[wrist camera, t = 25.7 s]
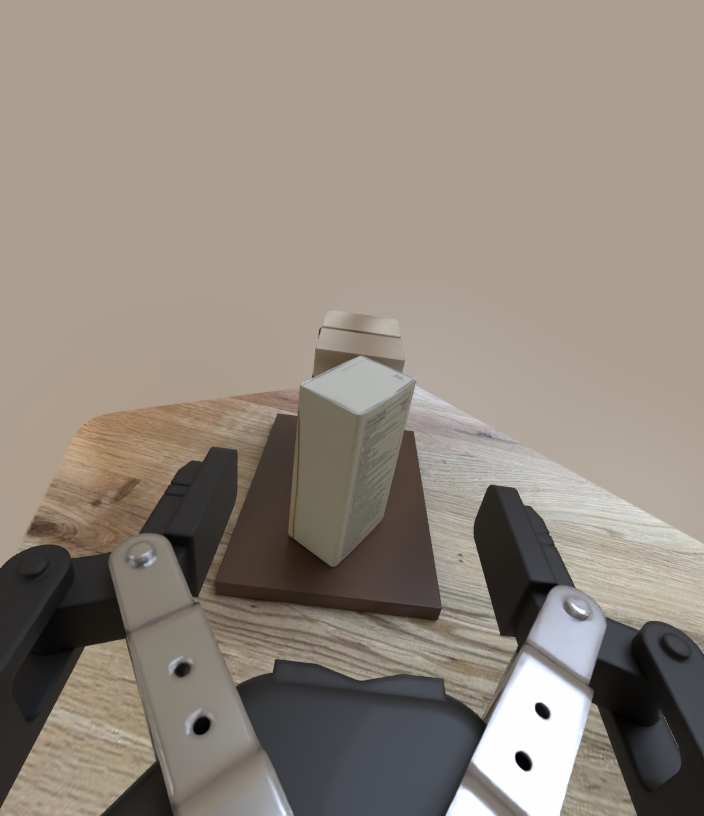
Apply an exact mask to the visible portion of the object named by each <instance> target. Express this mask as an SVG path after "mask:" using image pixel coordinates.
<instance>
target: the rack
mask: <svg viewBox="0 0 704 816" xmlns="http://www.w3.org/2000/svg"><path fill="white" fill-rule="evenodd" d="M400 338H401V336H400V330H399V324H398V320H397V319H390V318H382V317H375V316H369V315H362V314H354V313H347V312H340V311H333V310H327V312H326V315H325V318H324V322H323V325H322V328H320V329H319V337H318V342H317V345H316V349H315V359H314V370H313V375H312V378H314V377H316V376H318V375H320V374H322V373H324V372H326V371H328V370H331V369H333V368H334V367H337V366H339V365H341V364H343V363H345V362H347V361H349V360H352V359H354V358H357V357H359V356H364V357H366V358H368V359H371V360H373V361H375V362H378V363H380V364H382V365H385V366H387V367H390V368H392V369H394V370H396V371H399V372H401V373H402V372H403V367H404V362H405V359H404V354H403V348H402V341H401V339H400ZM297 419H298V416H293V415H286V414H277V416H276V419H275V422H274V424H273V427H272V430H271V432H270V435H269V438H268V441H267V443H266V446H265V449H264V451H263V454H262V457H261V459H260V462H259V465H258V467H257V470H256V473H255V476H254V478H253V481H252V484H251V486H250V489H249V492H248V494H247V497H246V500H245V503H244V505H243V508H242V511H241V513H240V516H239V519H238V521H237V524H236V527H235V529H234V532H233V535H232V538H231V540H230V543H229V546H228V548H227V551H226V554H225V556H224V559H223V562H222V565H221V567H220V570H219V573H218V575H217V578H216V581H215V588H216V594H221V595H229V596H238V597H246V598H255V599H263V600H272V601H280V602H289V603H297V604H306V605H314V606H323V607H331V608H340V609H348V610H357V611H365V612H374V613H382V614H391V615H399V616H408V617H416V618H425V619H433V620H438V617H439V615H440V612H441V609H442V606H441V600H440V594H439V588H438V581H437V575H436V569H435V563H434V556H433V550H432V544H431V537H430V531H429V525H428V519H427V512H426V506H425V500H424V494H423V487H422V481H421V475H420V468H419V462H418V456H417V450H416V443H415V437H414V432H413V431H406V430H404V433H403V438H402V442H401V446H400V450H399V454H398V458H397V463H396V467H395V471H394V475H393V479H392V483H391V487H390V491H389V496H388V500H387V504H386V508H385V512H384V516H383V519H382V520H381V522H380V523H379V524H378V525H377V526H376V527H375V528H374V529H373V530H372V531H371V532H370V533H369V534H368V535H367V536H366V537H365V538H364V539H363V540H362V541H361V542H360V543H359V544H358V545H357V546H356V547H355V548H354V549H353V550H352V551H351V552H350V553H349V554H348V555H347V556H346V557H345V558H344V559H343V560H342V561H341V562H340V563H339V564H338V565H337V566H335V567H331V566H330V565H328V564H327V563H326V562H324V561H323V560H322V559H320V558H319V557H317V556H316V555H315V554H313V553H312V552H311V551H309V550H308V549H307V548H305V547H304V546H303V545H301V544H300V543H299V542H297V541H296V540H295V539H293V538H292V537H291V536H289V534H288V527H289V515H290V503H291V491H292V479H293V467H294V455H295V442H296V431H297Z"/></svg>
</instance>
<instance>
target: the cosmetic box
mask: <svg viewBox="0 0 704 816" xmlns="http://www.w3.org/2000/svg"><path fill="white" fill-rule="evenodd" d="M415 384H416V378H413V377H410V376H408V375H406V374H404V373H401V372H399V371H396V370H394V369H392V368H390V367H387V366H385V365H382V364H380V363H378V362H375V361H373V360H371V359H368V358H366V357H364V356H359V357H357V358H354V359H352V360H349V361H347V362H345V363H343V364H341V365H339V366H337V367H334V368H333V369H331V370H328V371H326V372H324V373H322V374H320V375H318V376H316V377H314V378H312V379H310V380H308V381H306V382H304V383H302V384H301V385H300V394H299V408H298V419H297V431H296V442H295V455H294V467H293V479H292V491H291V503H290V515H289V527H288V534H289V536H291V537H292V538H293V539H295V540H296V541H297V542H299V543H300V544H301V545H303V546H304V547H305V548H307V549H308V550H309V551H311V552H312V553H313V554H315V555H316V556H317V557H319V558H320V559H322V560H323V561H324V562H326V563H327V564H328V565H330V566H331V567H335V566H337V565H338V564H339V563H340V562H341V561H342V560H343V559H344V558H345V557H346V556H347V555H348V554H349V553H350V552H351V551H352V550H353V549H354V548H355V547H356V546H357V545H358V544H359V543H360V542H361V541H362V540H363V539H364V538H365V537H366V536H367V535H368V534H369V533H370V532H371V531H372V530H373V529H374V528H375V527H376V526H377V525H378V524H379V523H380V522H381V520H382V519H383V516H384V512H385V508H386V504H387V500H388V496H389V491H390V487H391V483H392V479H393V475H394V471H395V467H396V463H397V458H398V454H399V450H400V446H401V442H402V438H403V433H404V429H405V425H406V421H407V417H408V413H409V408H410V404H411V400H412V396H413V392H414V388H415Z"/></svg>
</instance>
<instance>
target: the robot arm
mask: <svg viewBox="0 0 704 816" xmlns="http://www.w3.org/2000/svg"><path fill="white" fill-rule="evenodd" d="M237 459H238V456H237V450H234V449H227V448H219V447H211V448H210V450H209V452H208V454H207V455H206V457H205V459H204V461H203V462H200V461H190V462H189V463H188V464H186V465H185V466H184V467H182V468H181V469H179V470H178V472H177V473H176V475H175V477H174V478H173V480H172V481H171V484H170V485H169V486H168V488H167V489H166V491H165V494H164V495H163V496H162V497H161V499H160V501H159V502H158V504H157V505H156V507H155V509H154V510H153V512H152V514H151V515H150V517H149V518H148V520H147V522H146V523H145V525H144V526H143V528H142V530H141V531H140V533H139V534H138V535H134V536H132V537H129V538H127V539H126V540H124V541H122V542H121V543H120V544H119V545H117V546H116V547H115V549H114V550H113V551H112V552H109V553H106V554H100V555H93V556H86V557H79V558H71V557H70V554H69V552H68V551H67V550H66V549H65V548H63V547H61V546H58V545H40V546H35V547H32V548H29V549H26V550H24V551H22V552H20V553H18V554H16V555H15V556H13V557H12V558H10V559H9V560H8V561H7V562H6V563H5V564H4V565H3V566H2V567H1V568H0V808H1V806H2V804H3V802H4V801H5V799H6V797H7V795H8V793H9V791H10V789H11V787H12V785H13V783H14V781H15V780H16V778H17V776H18V774H19V772H20V770H21V768H22V766H23V764H24V762H25V760H26V758H27V757H28V755H29V753H30V751H31V749H32V747H33V745H34V743H35V741H36V739H37V737H38V735H39V734H40V732H41V730H42V728H43V726H44V724H45V722H46V720H47V718H48V716H49V714H50V713H51V711H52V709H53V707H54V705H55V703H56V701H57V699H58V697H59V695H60V693H61V691H62V690H63V688H64V686H65V684H66V682H67V680H68V678H69V676H70V674H71V672H72V670H73V669H74V667H75V665H76V663H77V661H78V659H79V657H80V655H81V653H82V651H83V649H84V647H85V646H89V645H94V644H100V643H105V642H110V641H115V640H120V639H126V643H127V647H128V651H129V655H130V659H131V663H132V667H133V671H134V675H135V679H136V683H137V686H138V690H139V694H140V698H141V702H142V707H143V711H144V715H145V719H146V723H147V727H148V731H149V735H150V739H151V743H152V747H153V751H154V755H155V759H156V762H155V763H154V764H153V765H152V766H151V767H150V768H149V769H147V770H146V771H145V772H144V773H143V774H142V775H141V776H140V777H139V778H138V779H137V780H136V781H135V782H134V783H133V784H132V785H131V786H130V787H129V788H128V789H127V790H126V791H125V792H124V793H123V794H122V795H121V796H120V797H119V798H118V799H117V800H116V801H115V802H114V803H113V804H112V805H111V806H110V807H109V808H108V809H107V810H106V811H105V812H104V813H103V814H102V815H101V816H559V814H560V810H561V807H562V803H563V800H564V796H565V793H566V789H567V786H568V782H569V779H570V775H571V772H572V768H573V765H574V761H575V758H576V754H577V751H578V747H579V744H580V740H581V737H582V733H583V730H584V726H585V723H586V719H587V715H588V712H589V708H590V705H591V702H592V703H594V704H596V705H597V706H598V709H599V712H600V715H601V717H602V720H603V723H604V725H605V728H606V731H607V734H608V736H609V739H610V742H611V745H612V747H613V750H614V753H615V756H616V758H617V761H618V764H619V767H620V769H621V772H622V775H623V778H624V780H625V783H626V786H627V789H628V791H629V794H630V797H631V800H632V802H633V805H634V808H635V811H636V813H637V816H704V654H703V653H702V651H701V650H700V648H699V647H698V646H697V645H696V644H695V643H694V642H693V641H692V640H691V639H690V638H689V637H688V636H687V635H686V634H684V633H683V632H681V631H680V630H678V629H677V628H675V627H673V626H671V625H669V624H666V623H663V622H659V621H650V622H647V623H646V624H644V626H643V627H642V628H641V629H640V630H637V629H634V628H632V627H629V626H627V625H624V624H622V623H619V622H617V621H614V620H612V619H610V618H607V617H605V615H604V613H603V611H602V609H601V608H600V606H599V605H598V604H597V603H596V602H595V601H594V600H593V599H592V598H591V597H590V596H589V595H587V594H586V593H584V592H583V591H581V590H579V589H577V588H575V586H574V584H573V581H572V579H571V577H570V575H569V573H568V571H567V569H566V567H565V565H564V563H563V561H562V558H561V556H560V554H559V552H558V550H557V548H556V547H555V546H554V545H555V544H554V542H553V540H552V538H551V536H549V531H548V529H547V527H546V525H545V523H544V521H543V519H542V518H541V517H540V516H539V515H538V514H537V513H536V512H535V511H534V510H533V508H532V507H531V506H524V505H523V503H522V500H521V498H520V496H519V494H518V491H517V490H516V489H515V488H511V487H504V486H497V485H490V486H489V487H488V488H487V491H486V493H485V496H484V498H483V501H482V503H481V506H480V508H479V511H478V514H477V516H476V519H475V522H474V539H475V543H476V547H477V551H478V554H479V558H480V562H481V565H482V569H483V573H484V576H485V580H486V584H487V587H488V591H489V595H490V598H491V602H492V605H493V609H494V613H495V616H496V620H497V624H498V627H499V631H500V635H501V636H509V637H516V640H517V644H518V647H517V649H516V650H515V652H514V654H513V656H512V658H511V660H510V662H509V664H508V666H507V668H506V670H505V672H504V674H503V676H502V678H501V680H500V682H499V685H498V687H497V689H496V691H495V693H494V695H493V697H492V699H491V701H490V703H489V705H488V706H487V708H486V710H485V712H484V714H483V716H482V718H480V717H479V716H478V715H477V714H476V713H475V712H474V711H472V710H471V709H470V708H469V707H467V706H466V705H465V704H463V703H462V702H460V701H459V700H457V699H455V698H453V697H451V696H449V695H447V694H445V687H444V680H443V679H441V678H432V677H423V676H415V675H406V674H400V675H394V676H388V677H382V678H376V679H370V680H364V681H359V680H355V679H353V678H350V677H348V676H345V675H343V674H340V673H338V672H335V671H333V670H331V669H328V668H326V667H323V666H321V665H318V664H312V663H304V662H295V661H287V660H278V659H275V664H274V669H273V673H268V674H263V675H260V676H257V677H253V678H251V679H249V680H247V681H244V682H243V683H241V684H239V685H237V686H235V684H234V682H233V679H232V677H231V675H230V672H229V670H228V667H227V665H226V663H225V660H224V658H223V655H222V653H221V651H220V648H219V646H218V644H217V641H216V639H215V636H214V634H213V632H212V629H211V627H210V624H209V622H208V620H207V617H206V615H205V613H204V610H203V608H202V606H201V605H200V603H199V602H196V603H195V601H194V600H193V597H198V596H199V593H200V591H201V588H202V585H203V583H204V580H205V578H206V575H207V573H208V570H209V568H210V565H211V563H212V560H213V558H214V555H215V553H216V550H217V548H218V545H219V543H220V540H221V538H222V535H223V533H224V530H225V528H226V525H227V522H228V520H229V517H230V515H231V512H232V510H233V507H234V504H235V500H236V496H237ZM663 716H664V717H665V719H666V721H667V723H668V725H667V723H666V721H665V719H664V717H663ZM668 726H669V727H668ZM669 728H670V729H669ZM670 730H671V731H670ZM671 732H672V733H671ZM672 734H673V735H672ZM673 736H674V738H675V740H676V742H677V744H676V742H675V740H674V738H673ZM677 745H678V746H677ZM678 747H679V748H678Z"/></svg>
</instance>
